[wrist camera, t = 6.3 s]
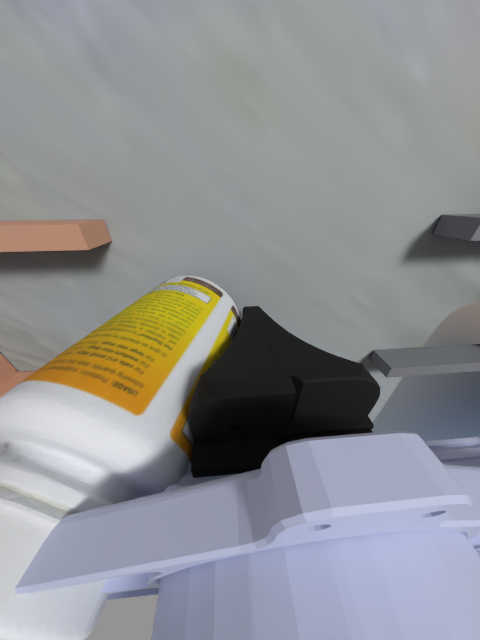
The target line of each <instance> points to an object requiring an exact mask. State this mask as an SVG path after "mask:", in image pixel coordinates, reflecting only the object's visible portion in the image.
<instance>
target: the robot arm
mask: <svg viewBox="0 0 480 640" xmlns="http://www.w3.org/2000/svg"><path fill="white" fill-rule="evenodd" d="M379 396H380V387H379V385H378V383H377V382H376V381H375V379H374V378H373V377H372V376H371V375H370V373H369V372H368V371H367V370H366V369H365V367H364V366H363V365H362V364H360V363H356V362H353V361H350V360H347V359H344V358H341V357H338V356H335V355H333V354H330V353H328V352H325V351H323V350H321V349H318V348H316V347H314V346H312V345H310V344H308V343H306V342H304V341H302V340H300V339H299V338H297V337H296V336H294V335H292V334H291V333H289V332H288V331H286V330H285V329H284V328H282V327H281V326H280V325H278V324H277V323H276V322H275V321H274V320H273V319H271V318H270V317H269V316H268V315H267V314H266V313H265V312H264V311H263V310H262V309H261V308H260V307H259V306H251V307H244V308H243V318H242V321H241V324H240V326H239V329H238V331H237V333H236V335H235V337H234V339H233V340H232V342H231V344H230V345H229V346H228V348H227V349H226V351H225V352H224V353H223V354H222V355H221V356H220V358H219V359H218V360H217V361H216V362H215V363H214V364H213V365H212V366H211V367H210V368H208V369H207V370H206V371H205V372H204V373H203V374H202V375H201V376H200V378H199V380H198V383H197V385H196V387H195V390H194V393H193V396H192V400H191V404H190V410H189V416H188V424H189V427H190V431H191V434H192V438H193V442H194V446H193V455H192V463H189V464H188V467H187V472H186V475H184V476H183V477H182V479H181V480H180V481H179V483H178V484H175V485H171V486H168V487H167V488H166V489H165V490H164V492H162V493H158V494H154V495H150V496H148V495H139V496H137V498H136V499H133V500H129V501H125V502H121V503H117V504H112V505H108V506H104V507H100V508H96V509H92V510H88V511H83V512H79V513H75V514H71V515H67V516H65V517H63V518H62V519H61V520H60V522H59V523H58V524H57V525H56V526H55V527H54V528H53V530H52V531H51V532H50V533H49V535H48V536H47V538H46V539H45V541H44V542H43V544H42V545H41V547H40V549H39V550H38V552H37V553H36V555H35V557H34V558H33V560H32V561H31V563H30V565H29V566H28V568H27V569H26V571H25V573H24V574H23V576H22V577H21V579H20V581H19V582H18V584H17V585H16V587H15V594H33V593H36V592H41V591H47V590H52V589H58V588H63V587H69V586H74V585H80V584H85V583H91V582H96V581H102V580H106V582H105V584H104V586H103V588H102V590H101V592H100V593H102V594H109V596H108V598H107V600H111V599H120V598H129V597H139V596H148V595H157V594H158V599H157V605H156V612H155V618H154V624H153V630H152V636H151V640H480V556H479V554H478V553H477V552H476V550H480V437H470V438H459V439H449V440H448V439H447V440H437V441H426V442H424V441H423V440H422V439H421V438H420V437H419V436H418V435H417V434H415V433H412V432H405V431H385V432H374V433H373V432H372V430H371V429H372V428H373V423H372V422H371V420H370V419H369V417H368V414H369V413H370V411H371V410H372V408H373V407H374V405H375V404H376V402H377V400H378V398H379Z"/></svg>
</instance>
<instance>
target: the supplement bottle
mask: <svg viewBox="0 0 480 640" xmlns="http://www.w3.org/2000/svg"><path fill="white" fill-rule="evenodd" d="M240 324H241V320H240V315H239V312H238V309H237V307H236V305H235V303H234V302H233V300H232V299H231V297H230V296H229V295H228V294H227V293H226V292H225V291H224V290H223V289H222V288H221V287H219V286H218V285H216V284H215V283H213V282H211V281H209V280H207V279H204V278H201V277H197V276H190V275H184V276H177V277H173V278H171V279H169V280H167V281H165V282H163V283H162V284H160V285H159V286H157V287H156V288H155V289H153V290H152V291H150V292H149V293H147V294H146V295H145V296H143V297H142V298H140V299H139V300H137V301H136V302H134V303H133V304H132V305H130V306H129V307H127V308H126V309H124V310H123V311H121V312H120V313H119V314H117V315H116V316H114V317H113V318H111V319H110V320H109V321H107V322H106V323H104V324H103V325H102V326H100V327H99V328H97V329H96V330H94V331H93V332H91V333H90V334H89V335H87V336H86V337H85V338H83V339H81V340H80V341H78V342H77V343H76V344H74V345H73V346H71V347H70V348H68V349H67V350H65V351H64V352H62V353H61V354H60V355H58V356H57V357H56V358H54V359H53V360H51V361H50V362H49V363H47V364H46V365H44V366H43V367H41V368H40V369H39V370H37V371H36V372H34V373H33V374H31V375H30V376H28V377H27V378H26V379H24V380H23V381H22V382H20V383H19V384H17V385H16V386H15V387H13V388H12V389H11V390H10V391H8V392H7V393H6V394H4V395H3V396H2V397H1V398H0V444H1V445H2V446H3V447H4V448H5V450H4V451H3V452H2V453H1V454H0V640H84V639H86V638H87V637H88V636H89V634H90V633H91V631H92V630H93V628H94V627H95V624H96V623H97V620H98V618H99V616H100V614H101V611H102V609H103V607H104V605H105V603H106V600H107V598H108V596H109V594H102V593H100V592H101V590H102V588H103V586H104V584H105V582H106V580H102V581H96V582H91V583H85V584H80V585H74V586H69V587H63V588H58V589H52V590H47V591H41V592H36V593H33V594H15V587H16V585H17V584H18V582H19V581H20V579H21V577H22V576H23V574H24V573H25V571H26V569H27V568H28V566H29V565H30V563H31V561H32V560H33V558H34V557H35V555H36V553H37V552H38V550H39V549H40V547H41V545H42V544H43V542H44V541H45V539H46V538H47V536H48V535H49V533H50V532H51V531H52V530H53V528H54V527H55V526H56V525H57V524H58V523H59V522H60V520H61V519H62V518H63V517H65V516H67V515H71V514H75V513H79V512H83V511H88V510H92V509H96V508H100V507H104V506H108V505H112V504H117V503H121V502H125V501H129V500H133V499H136V498H137V496H139V495H148V496H150V495H154V494H158V493H162V492H164V490H165V489H166V488H167V487H168V486H171V485H175V484H178V483H179V481H180V480H181V479H182V477H183V476H184V475H186V472H187V467H188V464H189V463H192V455H193V446H194V442H193V438H192V434H191V431H190V427H189V424H188V416H189V410H190V404H191V400H192V396H193V393H194V390H195V387H196V385H197V383H198V380H199V378H200V376H201V375H202V374H203V373H204V372H205V371H206V370H207V369H208V368H210V367H211V366H212V365H213V364H214V363H215V362H216V361H217V360H218V359H219V358H220V356H221V355H222V354H223V353H224V352H225V351H226V349H227V348H228V346H229V345H230V344H231V342H232V340H233V339H234V337H235V335H236V333H237V331H238V329H239V326H240Z"/></svg>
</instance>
